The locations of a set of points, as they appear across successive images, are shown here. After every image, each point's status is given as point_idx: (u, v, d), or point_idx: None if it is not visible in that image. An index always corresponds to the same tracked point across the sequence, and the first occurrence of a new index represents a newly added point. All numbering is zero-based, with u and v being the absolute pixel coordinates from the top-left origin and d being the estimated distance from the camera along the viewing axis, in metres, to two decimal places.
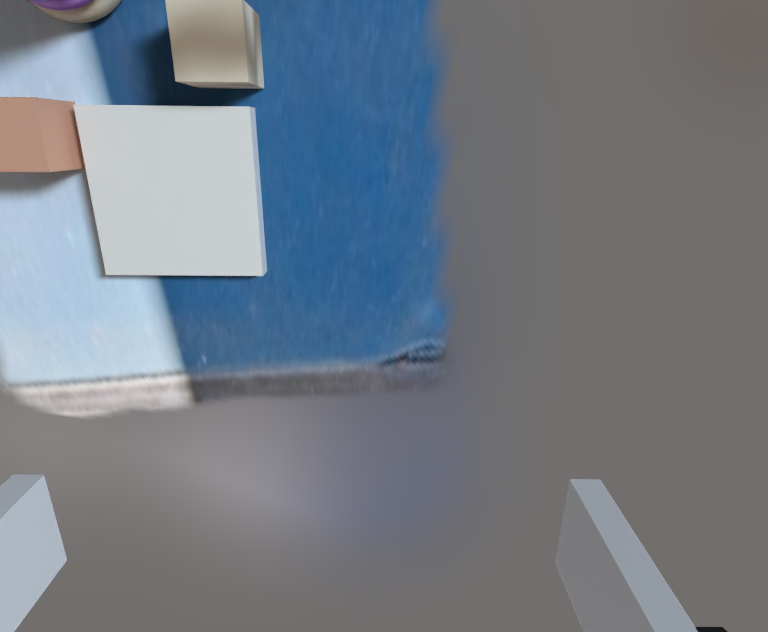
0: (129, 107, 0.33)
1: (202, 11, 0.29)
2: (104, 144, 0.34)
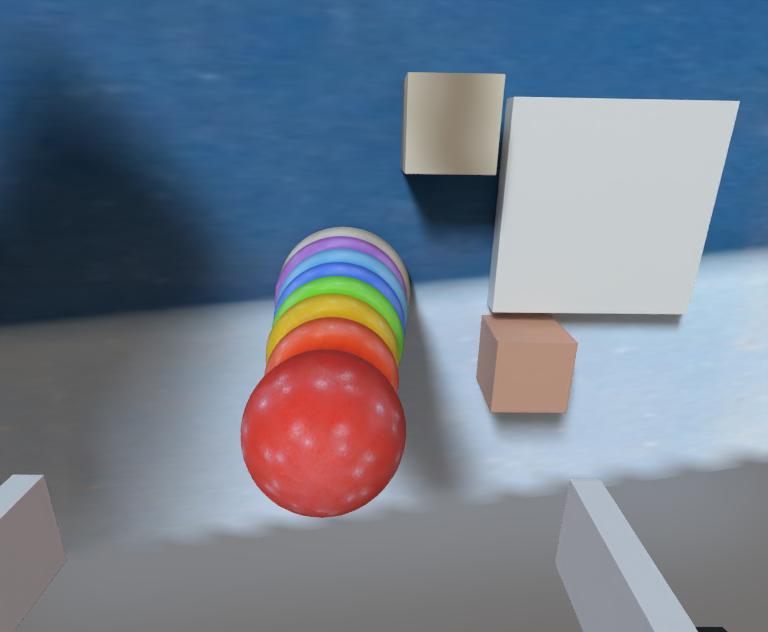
0: (501, 250, 0.28)
1: (422, 127, 0.23)
2: (536, 287, 0.29)
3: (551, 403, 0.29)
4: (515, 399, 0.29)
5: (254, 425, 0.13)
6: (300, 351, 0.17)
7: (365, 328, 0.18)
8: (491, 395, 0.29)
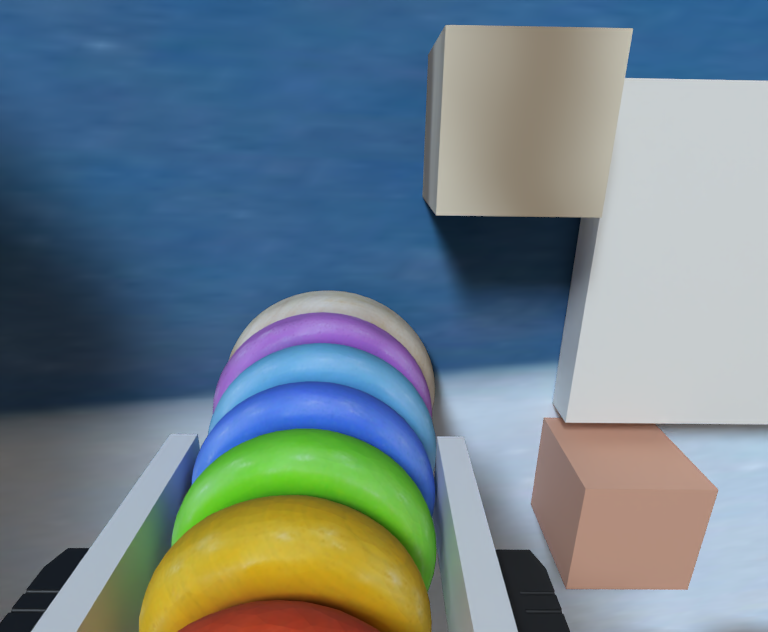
0: (585, 331, 0.17)
1: (469, 132, 0.12)
2: (638, 385, 0.18)
3: (665, 576, 0.18)
4: (607, 571, 0.18)
5: None
6: None
7: None
8: (568, 563, 0.18)
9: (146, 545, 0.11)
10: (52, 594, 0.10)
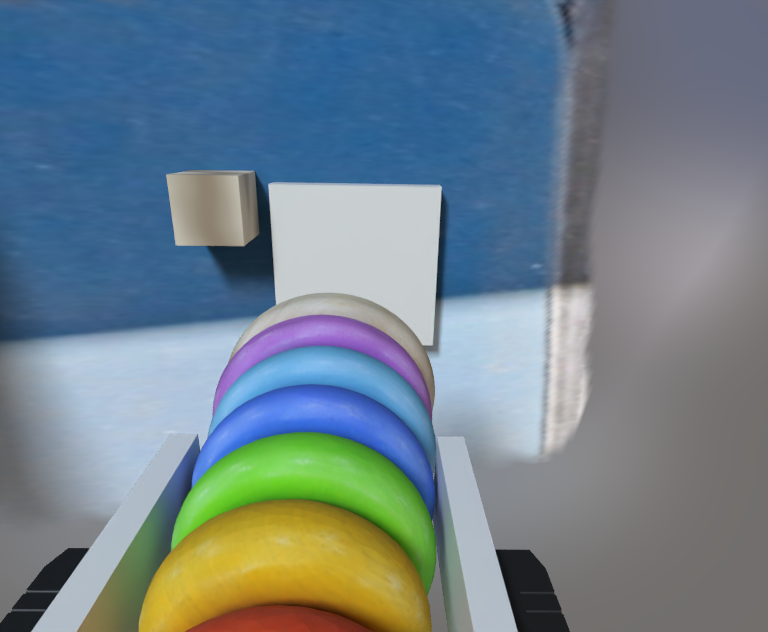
0: (277, 296, 0.37)
1: (183, 213, 0.32)
2: None
3: None
4: None
5: None
6: None
7: None
8: None
9: (146, 545, 0.11)
10: (53, 594, 0.10)
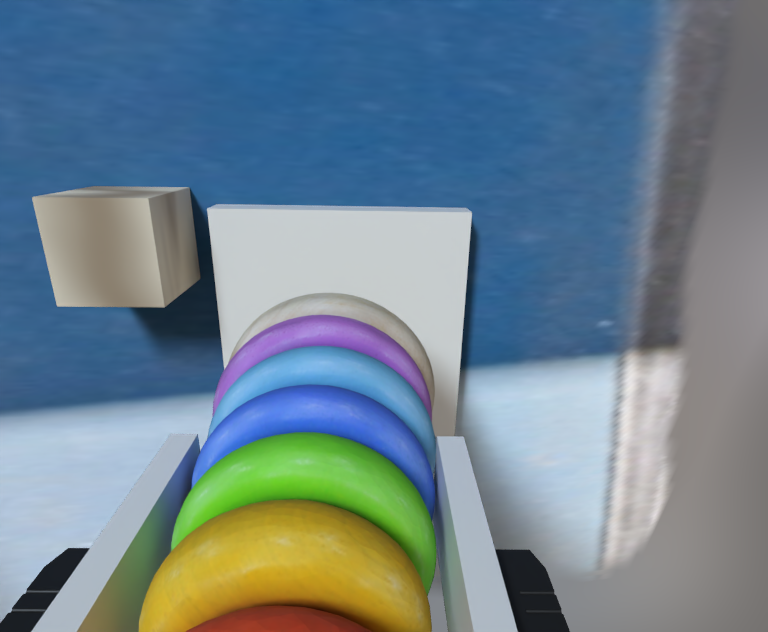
0: None
1: (64, 257, 0.20)
2: None
3: None
4: None
5: None
6: None
7: None
8: None
9: (146, 545, 0.11)
10: (52, 594, 0.10)
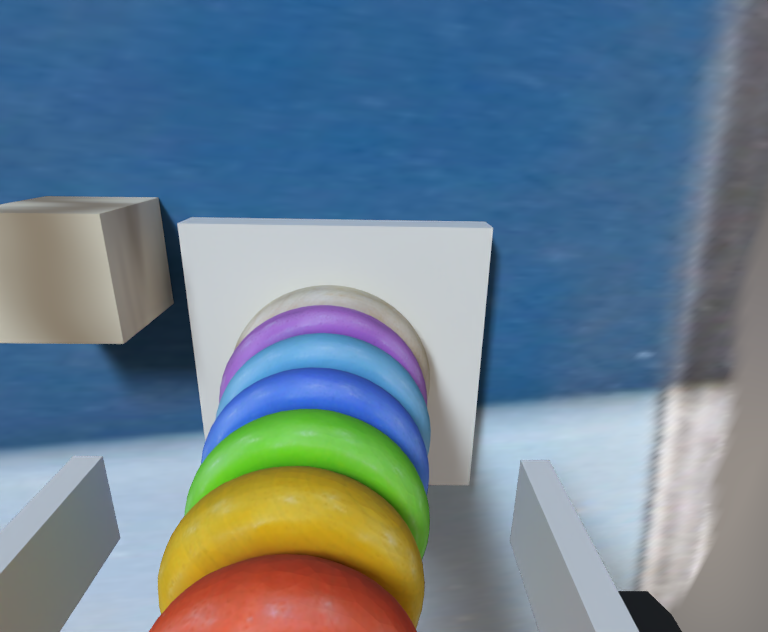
0: (205, 411, 0.21)
1: None
2: None
3: None
4: None
5: None
6: None
7: (355, 596, 0.08)
8: None
9: (16, 586, 0.10)
10: None
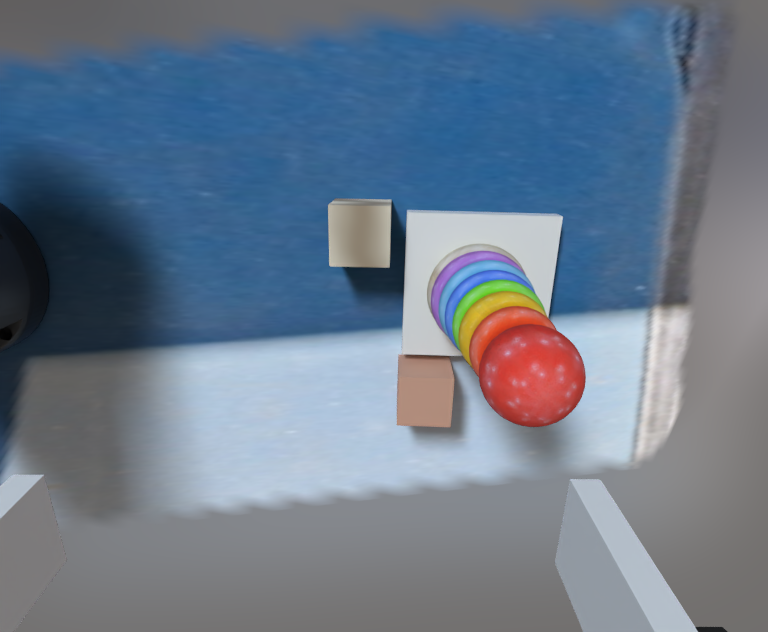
0: (405, 312, 0.41)
1: (338, 238, 0.36)
2: (432, 337, 0.41)
3: (439, 420, 0.41)
4: (413, 416, 0.41)
5: (503, 366, 0.23)
6: (502, 327, 0.26)
7: (541, 313, 0.27)
8: (397, 413, 0.41)
9: None
10: None
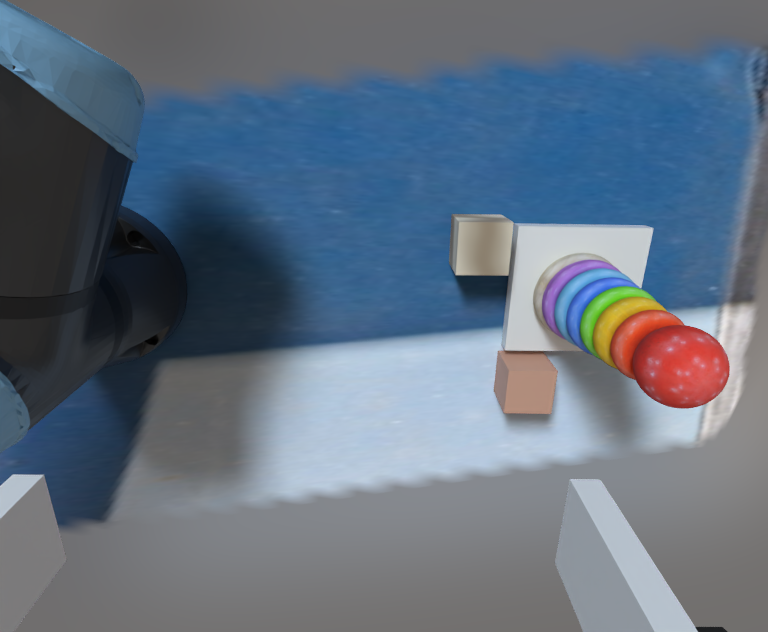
0: (510, 313, 0.46)
1: (466, 250, 0.41)
2: (532, 335, 0.47)
3: (541, 407, 0.46)
4: (519, 405, 0.46)
5: (667, 359, 0.28)
6: (646, 327, 0.32)
7: None
8: (504, 402, 0.46)
9: None
10: None
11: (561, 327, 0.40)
